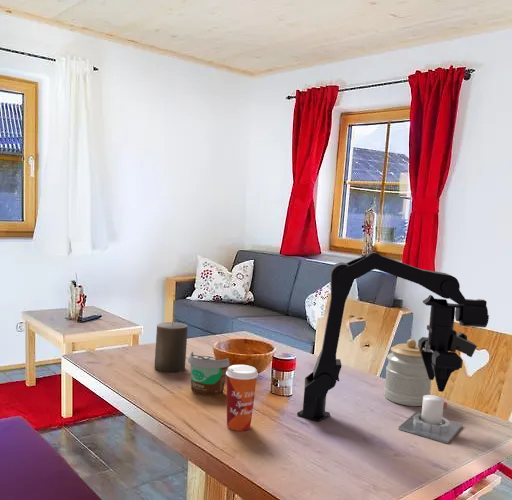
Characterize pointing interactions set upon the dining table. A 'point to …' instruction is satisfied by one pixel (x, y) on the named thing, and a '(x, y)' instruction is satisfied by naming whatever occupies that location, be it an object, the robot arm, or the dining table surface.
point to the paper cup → (240, 396)
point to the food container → (207, 374)
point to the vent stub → (433, 409)
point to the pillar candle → (171, 346)
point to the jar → (406, 375)
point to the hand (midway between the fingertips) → (435, 385)
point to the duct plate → (431, 434)
